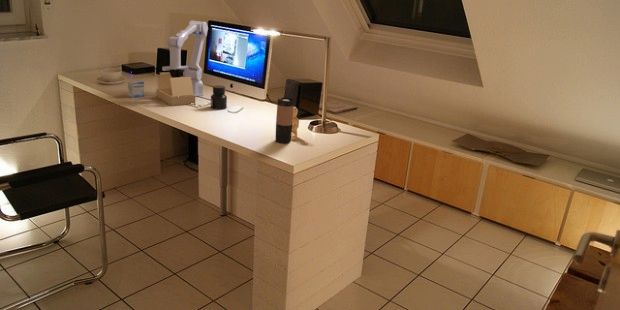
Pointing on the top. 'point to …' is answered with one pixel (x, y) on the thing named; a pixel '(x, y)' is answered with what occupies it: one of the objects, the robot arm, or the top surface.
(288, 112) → the travel mug
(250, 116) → the top surface
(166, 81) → the flap
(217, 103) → the ink bottle
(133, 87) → the medicine box
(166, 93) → the carton
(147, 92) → the top surface
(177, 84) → the flap
